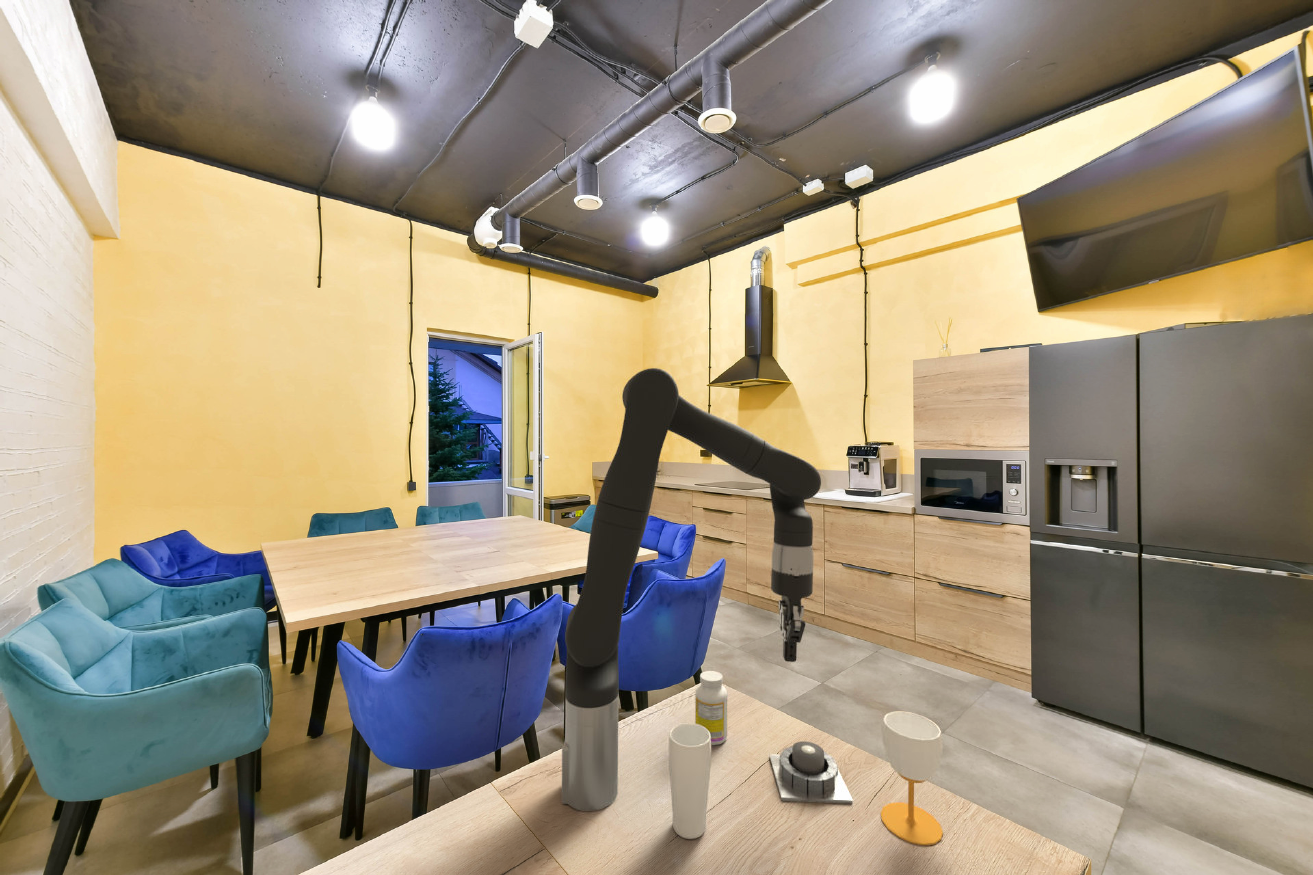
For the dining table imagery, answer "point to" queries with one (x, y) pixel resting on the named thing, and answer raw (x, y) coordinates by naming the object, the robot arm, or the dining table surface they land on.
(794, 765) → the cap
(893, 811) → the cup
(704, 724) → the supplement bottle
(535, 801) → the dining table surface
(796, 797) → the segmented ring on plate
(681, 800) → the drinking glass
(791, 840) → the dining table surface
